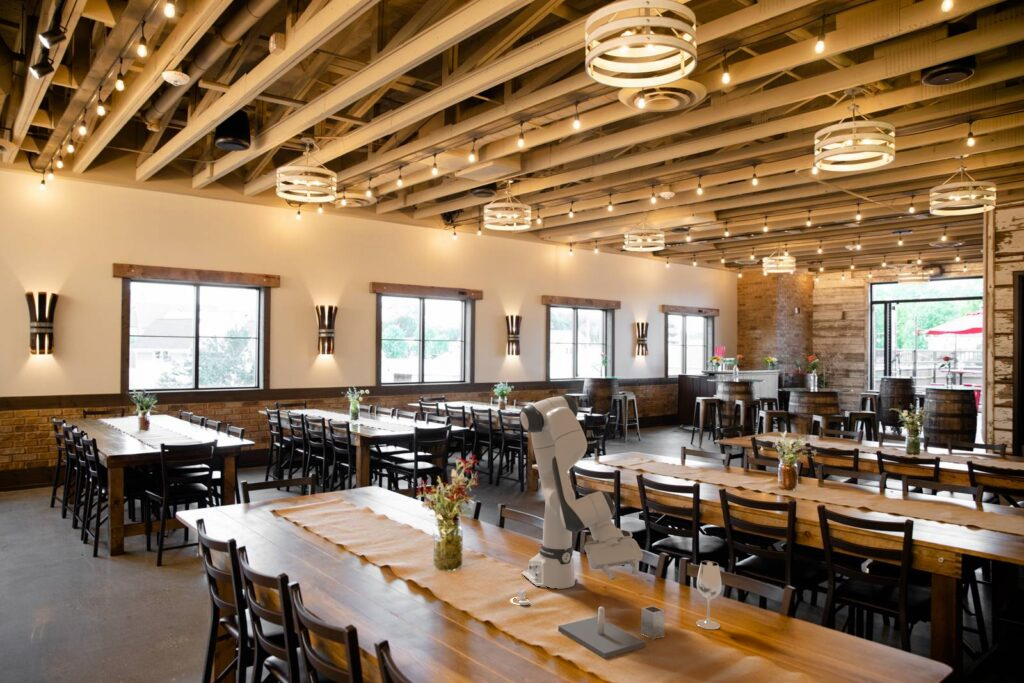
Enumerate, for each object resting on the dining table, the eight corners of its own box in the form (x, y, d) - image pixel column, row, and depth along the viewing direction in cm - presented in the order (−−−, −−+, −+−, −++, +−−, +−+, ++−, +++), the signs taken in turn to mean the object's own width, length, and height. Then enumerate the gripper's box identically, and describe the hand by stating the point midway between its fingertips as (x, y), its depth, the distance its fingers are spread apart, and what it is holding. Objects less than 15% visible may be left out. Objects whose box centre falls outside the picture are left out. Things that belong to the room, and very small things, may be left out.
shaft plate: (558, 630, 210) (559, 599, 210) (597, 621, 219) (598, 591, 219) (604, 658, 192) (605, 624, 192) (645, 646, 200) (646, 614, 201)
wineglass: (703, 630, 214) (705, 567, 214) (691, 621, 221) (692, 560, 222) (725, 628, 216) (726, 566, 216) (711, 619, 223) (713, 559, 224)
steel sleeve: (641, 633, 210) (641, 608, 210) (652, 630, 212) (653, 605, 213) (652, 639, 206) (653, 613, 206) (664, 636, 208) (664, 610, 208)
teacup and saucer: (529, 608, 229) (530, 596, 229) (507, 606, 231) (507, 594, 231) (534, 599, 238) (534, 587, 238) (512, 597, 239) (512, 585, 239)
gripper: (586, 537, 221) (603, 576, 212) (634, 531, 231) (653, 567, 222) (578, 547, 225) (594, 586, 216) (626, 540, 235) (644, 577, 226)
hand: (624, 576), depth 219 cm, fingers open, 8 cm apart
